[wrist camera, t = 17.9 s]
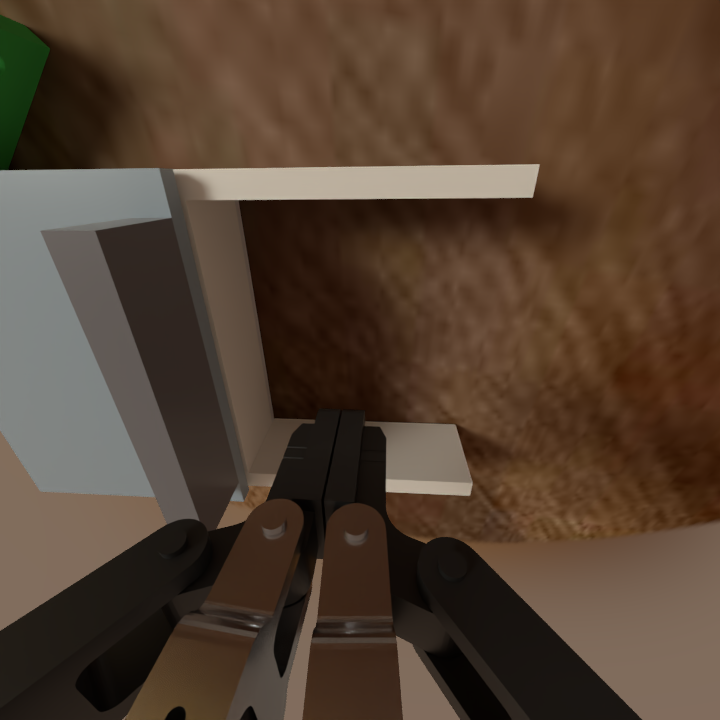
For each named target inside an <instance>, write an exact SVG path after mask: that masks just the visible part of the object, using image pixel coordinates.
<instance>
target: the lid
mask: <svg viewBox="0 0 720 720" xmlns="http://www.w3.org/2000/svg"><path fill="white" fill-rule="evenodd" d="M0 431H1V432H2V434H3V436H4V437H5V439H6V440H7V442H8V443H9V445H10V446H11V448H12V449H13V451H14V452H15V454H16V455H17V457H18V458H19V460H20V461H21V463H22V464H23V466H24V467H25V469H26V470H27V472H28V473H29V475H30V477H31V478H32V480H33V481H34V482H35V484H36V486H37V487H38V489H39V490H40V491H42V492H43V491H44V492H63V493H64V492H65V493H83V494H102V495H122V496H123V495H124V496H143V497H156V499H157V502H158V504H159V507H160V508H161V511H162V513H163V516H164V518H165V520H166V523H167V524H169V523H171V522H174V521H177V520H181V519H195V520H198V521H200V522H202V523H203V524H204V525H205V527H206V529H207V531H212V530H216V528H217V526H218V524H219V522H220V520H221V518H222V516H223V514H224V512H225V510H226V508H227V506H228V504H229V502H230V501H243V502H244V500H245V498H246V495H247V493H248V491H249V488H248V483H247V479H246V475H245V471H244V467H243V462H242V458H241V454H240V450H239V446H238V441H237V437H236V433H235V429H234V425H233V420H232V416H231V412H230V408H229V404H228V399H227V395H226V391H225V387H224V382H223V378H222V374H221V370H220V366H219V361H218V357H217V353H216V349H215V345H214V340H213V336H212V332H211V328H210V324H209V319H208V315H207V311H206V307H205V303H204V298H203V294H202V290H201V286H200V281H199V277H198V273H197V269H196V265H195V260H194V256H193V252H192V248H191V244H190V239H189V235H188V231H187V227H186V223H185V218H184V214H183V210H182V206H181V202H180V197H179V193H178V189H177V185H176V180H175V176H174V172H173V169H164V168H140V169H68V170H0Z"/></svg>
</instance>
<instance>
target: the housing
mask: <svg viewBox="0 0 720 720" xmlns="http://www.w3.org/2000/svg"><path fill="white" fill-rule="evenodd" d="M539 165H540V164H530V165H458V166H385V167H312V168H240V169H173V172H174V176H175V180H176V185H177V189H178V193H179V197H180V202H181V206H182V210H183V214H184V218H185V223H186V227H187V231H188V235H189V239H190V244H191V248H192V252H193V256H194V260H195V265H196V269H197V273H198V277H199V281H200V286H201V290H202V294H203V298H204V303H205V307H206V311H207V315H208V319H209V324H210V328H211V332H212V336H213V340H214V345H215V349H216V353H217V357H218V361H219V366H220V370H221V374H222V378H223V382H224V387H225V391H226V395H227V399H228V404H229V408H230V412H231V416H232V420H233V425H234V429H235V433H236V437H237V441H238V446H239V450H240V454H241V458H242V462H243V467H244V471H245V475H246V479H247V483H248V485H249V486H270V487H272V484H273V482H274V479H275V477H276V474H277V471H278V469H279V466H280V464H281V461H282V459H283V456H284V453H285V451H286V449H287V445H288V443H289V440H290V438H291V435H292V433H293V432H294V431H295V430H296V429H297V428H298V427H299V426H300V425H301V424H302V423H308V424H314V423H315V420H309V419H279V418H274V414H273V408H272V402H271V396H270V389H269V383H268V377H267V371H266V365H265V359H264V353H263V347H262V340H261V334H260V328H259V322H258V316H257V310H256V304H255V298H254V291H253V285H252V279H251V273H250V267H249V261H248V255H247V249H246V242H245V236H244V230H243V224H242V218H241V212H240V206H239V200H300V199H429V198H533V194H534V189H535V184H536V180H537V175H538V170H539ZM365 426H377V427H380V428H381V429H382V431H383V433H384V435H385V436H386V492H400V493H421V494H443V495H464V496H470V493H471V488H472V484H473V483H472V479H471V476H470V472H469V469H468V466H467V462H466V459H465V455H464V452H463V449H462V445H461V442H460V438H459V435H458V431H457V428H456V425H455V424H428V423H399V422H369V421H365Z"/></svg>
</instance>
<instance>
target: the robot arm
mask: <svg viewBox="0 0 720 720" xmlns="http://www.w3.org/2000/svg"><path fill="white" fill-rule="evenodd" d="M316 559H323V567H322V577H321V587H320V597H319V607H318V617H317V623H316V627H315V628H314V630H313V634H312V640H311V646H310V655H309V663H308V673H307V683H306V692H305V700H304V710H303V719H302V720H403V715H402V702H401V690H400V677H399V664H398V651H397V641H396V636H398V637H400V638H402V639H404V640H406V641H408V642H410V643H412V644H413V647H414V649H415V651H416V652H417V654H418V656H419V657H420V659H421V660H422V662H423V663H424V665H425V666H426V668H427V669H428V671H429V672H430V674H431V675H432V677H433V678H434V680H435V682H436V683H437V684H438V686H439V688H440V689H441V691H442V692H443V694H444V695H445V697H446V698H447V700H448V701H449V703H450V705H451V706H452V707H453V709H454V710H455V712H456V714H457V715H458V717H459V718H460V720H642V719H641V718H640V717H639V716H638V715H637V714H636V713H635V712H634V711H633V710H632V709H631V708H630V707H629V706H628V705H627V704H626V703H625V702H624V701H623V700H622V699H621V698H620V697H619V696H618V695H617V694H616V693H615V692H614V691H613V690H612V689H611V688H610V687H609V686H608V685H607V684H606V683H605V682H604V681H603V680H602V679H601V678H600V677H599V676H598V675H597V674H596V673H595V672H594V671H593V670H592V669H591V668H590V667H589V666H588V665H587V664H586V663H585V662H584V661H583V660H582V659H581V658H580V657H579V656H578V655H577V654H576V653H575V652H574V651H573V650H572V649H571V648H570V647H569V646H568V645H567V644H566V643H565V642H564V641H563V640H562V639H561V638H560V637H559V636H558V635H557V634H556V632H555V631H553V629H551V628H550V626H548V624H547V623H546V622H545V621H544V620H543V619H542V618H541V617H540V616H539V615H538V614H537V613H536V612H535V611H534V610H533V609H532V608H531V607H530V606H529V605H528V604H527V603H526V602H525V601H524V600H523V599H522V598H521V597H520V596H519V595H518V594H517V593H516V592H515V591H514V590H513V589H512V588H511V587H510V586H509V585H508V584H507V583H506V582H505V581H504V580H503V579H502V578H501V577H500V576H499V575H498V574H497V573H496V572H495V571H494V570H493V569H492V568H491V567H490V566H489V565H488V564H487V563H486V562H485V561H484V560H483V559H482V558H481V557H480V556H479V555H478V554H477V553H476V552H475V551H474V550H473V549H472V548H471V547H470V546H468V545H467V544H465V543H464V542H462V541H460V540H457V539H454V538H449V537H440V538H436V539H433V540H431V541H429V542H428V543H427V544H425V543H423V542H420V541H418V540H415V539H413V538H410V537H408V536H406V535H404V534H403V533H401V532H400V531H399V530H397V529H396V528H395V527H394V525H393V524H392V523H391V521H390V520H389V518H388V515H387V512H386V436H385V435H384V433H383V431H382V429H381V428H380V427H377V426H365V410H347V409H343V410H341V409H321V408H320V409H319V410H318V413H317V416H316V420H315V423H314V424H308V423H302V424H301V425H300V426H299V427H298V428H297V429H296V430H295V431H294V432H293V433H292V435H291V438H290V440H289V443H288V445H287V449H286V451H285V453H284V456H283V459H282V461H281V464H280V466H279V469H278V471H277V474H276V477H275V479H274V482H273V484H272V487H271V490H270V492H269V495H268V497H267V500H266V502H264V503H262V504H261V505H259V506H258V507H256V508H255V509H254V510H253V511H252V512H251V513H250V515H249V516H248V518H247V520H246V521H244V522H242V523H239V524H236V525H233V526H229V527H225V528H220V529H216V530H212V531H207V529H206V527H205V525H204V524H203V523H202V522H200V521H198V520H195V519H181V520H177V521H174V522H171V523H169V524H167V525H165V526H164V527H162V528H160V529H159V530H157V531H156V532H154V533H152V534H151V535H150V536H148V537H146V538H145V539H143V540H142V541H140V542H138V543H137V544H135V545H134V546H132V547H131V548H129V549H127V550H126V551H124V552H123V553H121V554H120V555H118V556H117V557H115V558H113V559H112V560H110V561H109V562H107V563H106V564H104V565H103V566H101V567H99V568H98V569H96V570H95V571H93V572H92V573H90V574H89V575H87V576H85V577H84V578H82V579H81V580H79V581H78V582H76V583H74V584H73V585H71V586H70V587H68V588H67V589H65V590H63V591H62V592H60V593H59V594H57V595H56V596H54V597H53V598H51V599H50V600H48V601H46V602H45V603H43V604H42V605H40V606H39V607H37V608H35V609H34V610H32V611H31V612H29V613H28V614H26V615H25V616H23V617H22V618H20V619H18V620H17V621H15V622H14V623H12V624H10V625H9V626H7V627H6V628H4V629H3V630H1V631H0V720H122V719H123V718H124V717H125V716H126V715H127V716H126V718H125V720H284V714H285V708H286V697H287V688H288V682H289V677H290V673H291V669H292V665H293V661H294V658H295V654H296V650H297V646H298V642H299V638H300V634H301V631H302V626H303V623H304V619H305V615H306V611H307V607H308V603H309V600H310V596H311V592H312V579H313V575H314V569H315V564H316Z"/></svg>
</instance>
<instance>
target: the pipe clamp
mask: <svg viewBox="0 0 720 720" xmlns="http://www.w3.org/2000/svg"><path fill="white" fill-rule="evenodd" d="M49 51H50V48H49V47H48V46H47V45H46V44H44V43H43V42H42V41H41V40H40V39H39V38H38V37H37V36H36V35H35V34H33V33H32V32H31V31H30V30H29V29H28V28H27V27H26V26H25V25H23V24H20V23H18V22H16V21H13V20H11V19H9V18H6V17H4V16H2V15H0V170H8V169H9V166H10V163H11V160H12V157H13V154H14V151H15V148H16V146H17V143H18V140H19V137H20V134H21V131H22V128H23V126H24V123H25V120H26V117H27V114H28V111H29V108H30V106H31V103H32V100H33V97H34V94H35V91H36V88H37V86H38V83H39V80H40V77H41V74H42V71H43V68H44V66H45V63H46V60H47V57H48V54H49Z"/></svg>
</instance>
